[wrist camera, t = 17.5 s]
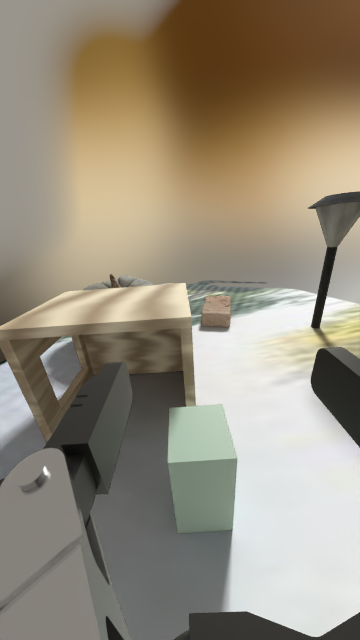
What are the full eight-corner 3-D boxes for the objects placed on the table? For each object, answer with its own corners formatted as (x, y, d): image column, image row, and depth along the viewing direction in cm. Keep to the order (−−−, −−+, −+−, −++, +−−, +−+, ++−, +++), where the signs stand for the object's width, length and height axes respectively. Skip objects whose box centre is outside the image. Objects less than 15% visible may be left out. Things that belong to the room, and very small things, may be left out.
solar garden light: (279, 320, 58) (295, 201, 46) (318, 315, 60) (343, 198, 48) (311, 340, 47) (343, 190, 35) (358, 333, 48) (403, 186, 37)
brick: (230, 328, 57) (231, 312, 55) (201, 327, 59) (200, 312, 57) (229, 308, 71) (230, 295, 70) (206, 308, 73) (206, 295, 71)
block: (221, 470, 23) (222, 404, 19) (232, 529, 18) (237, 458, 14) (177, 473, 23) (169, 407, 19) (177, 533, 18) (167, 462, 14)
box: (190, 366, 41) (185, 283, 34) (197, 435, 27) (191, 316, 20) (91, 373, 41) (66, 291, 35) (47, 444, 27) (-8, 330, 21)
